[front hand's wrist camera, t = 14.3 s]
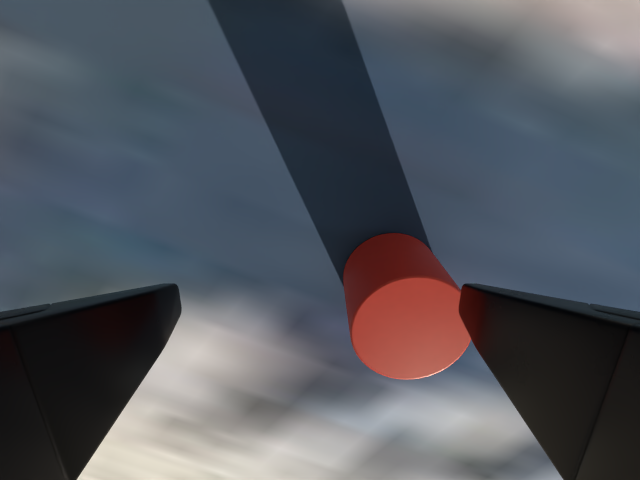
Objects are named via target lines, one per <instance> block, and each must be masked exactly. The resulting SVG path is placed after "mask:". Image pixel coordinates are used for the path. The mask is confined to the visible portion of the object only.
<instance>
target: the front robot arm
mask: <svg viewBox="0 0 640 480" xmlns="http://www.w3.org/2000/svg"><path fill="white" fill-rule="evenodd" d="M180 315H181V301H180V295H179V289H178V286H177V285H176V284H159V285H153V286H148V287H142V288H136V289H131V290H125V291H120V292H114V293H108V294H103V295H97V296H92V297H86V298H80V299H75V300H69V301H64V302H58V303H53V304H51V305H50V304H44V305H38V306H33V307H27V308H21V309H15V310H9V311H3V312H0V480H77V478H78V477H79V475H80V474H81V472H82V471H83V469H84V468H85V466H86V465H87V463H88V462H89V460H90V459H91V457H92V456H93V454H94V453H95V451H96V450H97V448H98V447H99V445H100V444H101V442H102V441H103V439H104V438H105V436H106V435H107V433H108V432H109V430H110V429H111V427H112V426H113V424H114V423H115V421H116V420H117V418H118V417H119V415H120V414H121V412H122V411H123V409H124V408H125V406H126V405H127V403H128V402H129V400H130V399H131V397H132V396H133V394H134V393H135V391H136V390H137V388H138V387H139V385H140V384H141V382H142V381H143V379H144V378H145V376H146V375H147V373H148V372H149V370H150V369H151V367H152V366H153V364H154V363H155V361H156V360H157V358H158V357H159V355H160V354H161V352H162V350H163V349H164V347H165V345H166V343H167V342H168V340H169V338H170V336H171V333H172V331H173V329H174V327H175V325H176V323H177V321H178V319H179V317H180ZM459 315H460V317H461V319H462V321H463V323H464V325H465V327H466V329H467V331H468V333H469V335H470V338H471V340H472V342H473V343H474V345H475V347H476V349H477V350H478V352H479V354H480V355H481V357H482V358H483V360H484V361H485V363H486V364H487V366H488V367H489V369H490V370H491V372H492V373H493V375H494V376H495V378H496V379H497V381H498V382H499V384H500V385H501V387H502V388H503V390H504V391H505V393H506V394H507V396H508V397H509V399H510V400H511V402H512V403H513V405H514V406H515V408H516V409H517V411H518V412H519V414H520V415H521V417H522V418H523V420H524V421H525V423H526V424H527V426H528V427H529V429H530V430H531V432H532V433H533V435H534V436H535V438H536V439H537V441H538V442H539V444H540V445H541V447H542V448H543V450H544V451H545V453H546V454H547V456H548V457H549V459H550V460H551V462H552V463H553V465H554V466H555V468H556V469H557V471H558V472H559V474H560V475H561V477H562V478H563V480H640V312H637V311H631V310H625V309H619V308H613V307H607V306H602V305H596V304H590V305H589V304H588V303H582V302H577V301H571V300H565V299H560V298H554V297H549V296H543V295H537V294H532V293H526V292H520V291H515V290H509V289H504V288H498V287H492V286H487V285H481V284H464V285H463V286H462V289H461V295H460V301H459Z"/></svg>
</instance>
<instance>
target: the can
mask: <svg viewBox="0 0 640 480" xmlns="http://www.w3.org/2000/svg"><path fill="white" fill-rule="evenodd" d="M343 284H344V291H345V299H346V307H347V314H348V322H349V330H350V337H351V342H352V345H353V348H354V350H355V352H356V354H357V355H358V357H359V358H360V359H361V361H362V362H363V363H364V364H365V365H366V366H368V367H369V368H370V369H372V370H374V371H375V372H377V373H379V374H381V375H384V376H387V377H391V378H396V379H418V378H423V377H427V376H430V375H433V374H436V373H438V372H440V371H442V370H444V369H445V368H447V367H449V366H450V365H451V364H453V363H454V362H455V361H456V360H457V359H458V358H459V357H460V356H461V355H462V354H463V352H464V351H465V350H466V348H467V346H468V345H469V342H470V340H471V338H470V335H469V333H468V331H467V329H466V327H465V325H464V323H463V321H462V319H461V317H460V315H459V301H460V295H461V290H460V289H459V287H458V286H457V285H456V283H455V282H454V281H453V279H452V278H451V277H450V275H449V274H448V273H447V271H446V270H445V269H444V268H443V266H442V265H441V264H440V262H439V261H438V260H437V258H436V257H435V256H434V254H433V253H432V252H431V251H430V249H429V248H428V247H427V246H426V245H425V244H424V243H423V242H421V241H420V240H418V239H416V238H414V237H412V236H409V235H406V234H401V233H387V234H381V235H378V236H375V237H372V238H370V239H368V240H367V241H365V242H363V243H362V244H361V245H359V246H358V247H357V248H356V249H355V250H354V251H353V253H352V254H351V255H350V257H349V259H348V260H347V263H346V265H345V268H344V274H343Z"/></svg>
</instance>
